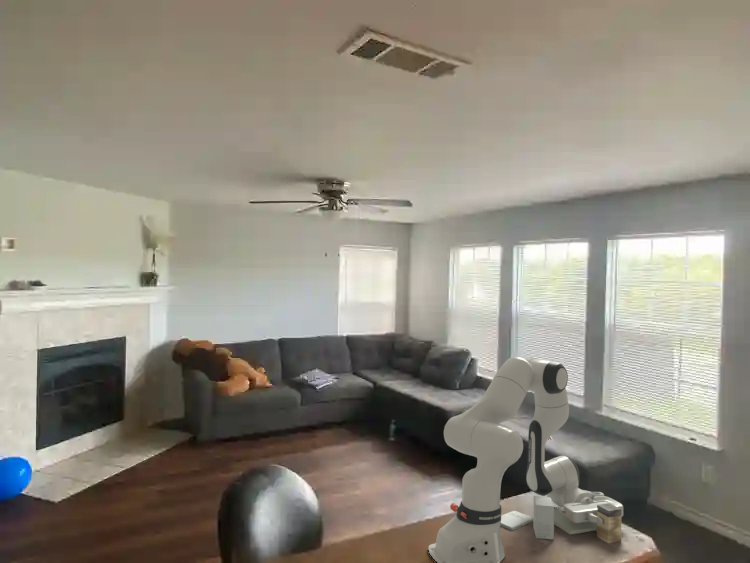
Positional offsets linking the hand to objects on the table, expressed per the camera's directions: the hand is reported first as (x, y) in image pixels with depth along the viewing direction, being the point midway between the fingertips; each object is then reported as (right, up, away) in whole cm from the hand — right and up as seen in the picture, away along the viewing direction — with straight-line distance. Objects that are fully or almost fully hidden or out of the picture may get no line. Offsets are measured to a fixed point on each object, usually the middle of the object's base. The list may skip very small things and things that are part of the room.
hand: (611, 520), depth 169 cm
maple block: (0, -6, +1) cm, 6 cm away
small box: (-20, -6, +3) cm, 21 cm away
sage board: (-7, -6, +13) cm, 16 cm away
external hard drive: (-28, -7, +12) cm, 31 cm away
